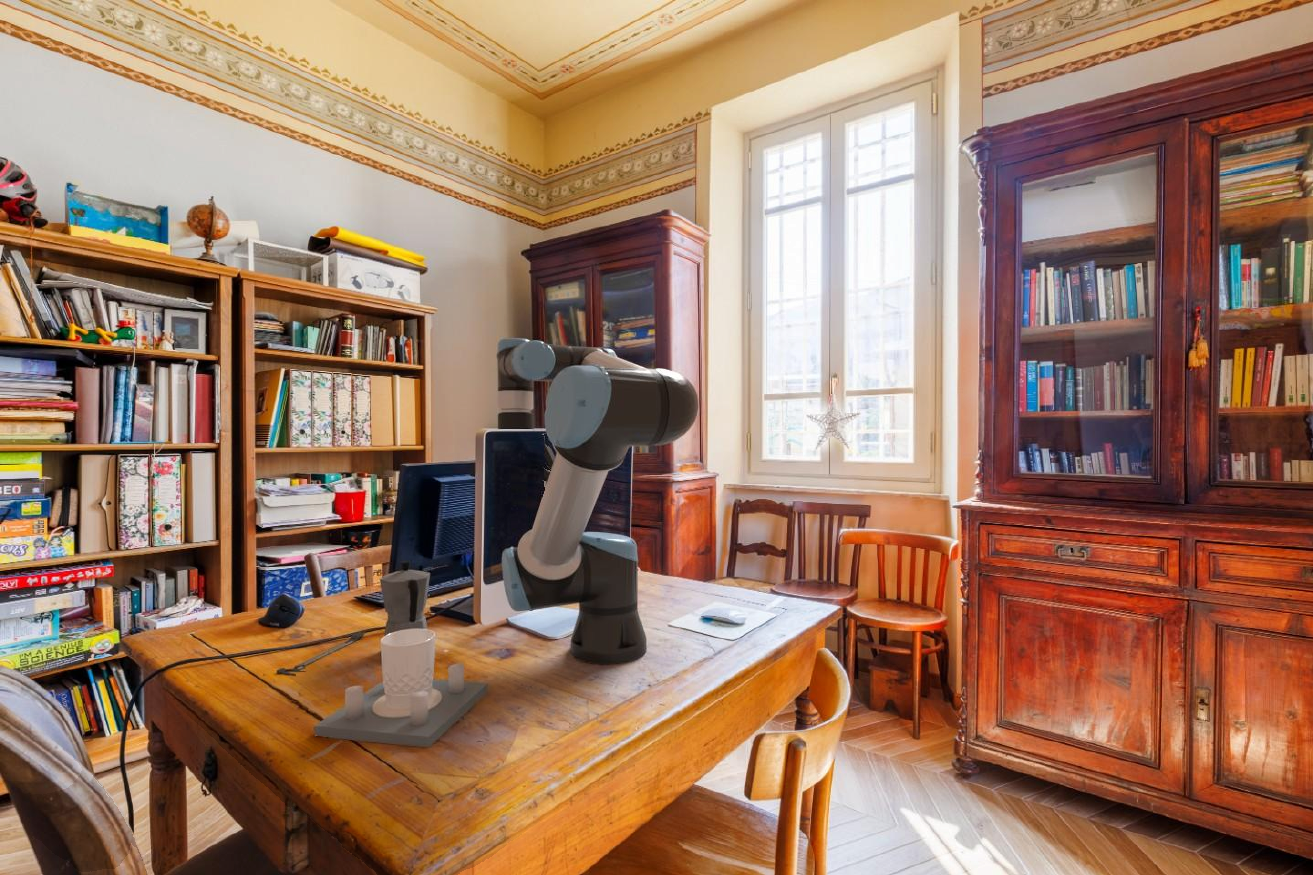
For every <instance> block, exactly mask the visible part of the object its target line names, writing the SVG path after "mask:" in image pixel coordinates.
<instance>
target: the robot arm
mask: <svg viewBox="0 0 1313 875" xmlns="http://www.w3.org/2000/svg"><path fill="white" fill-rule="evenodd" d="M496 351H497V353H496V360H497V362H496V363H497V364H496V365H497V368H496V369H497V410H499V411H500V412H498V413H497V430H498V429H533V430H534V429H535V428H534V426H535V425H534V424H535V423H534V414H533V412H531V411H534V382H552V383H551V384H550V386H549V389H548V391H547V395H546V400H545V406H546V407H545V411H544V414H543V415H544V427H545V433H540V434H541V435H544V434H547V436H548V441H549V442H550V443H551V444H552V447H553V449H554V451H555V452H556V453H555V454H554V451H553V450H552V447H551V446H550V447H551V448H550V447H549V446H547V445H546V444H545V436H542V437H544V450H545V453H544V454H543V456H544V458H545V460H546V462H547V464H548V465H547V466H548V468H549V469H550V470H551V471H550V470H547V469H545V468H544V467H543V468H544V476H543V477H544V479H545V480H546V481H544V480H543V481H544V487H545V491H544V494H543V497H541V500H540V503H539V507H538V510H537V512H536V516H535V520H534V522H533V525H532V529H530V530H528V531H526V532H525V533H524V534H523V535H522V537H521V538H520V540H519V541H518V545H517V547H514V546H510V547H509V548H505V549H504V550H503V551H502V553H501V555H502V556H501V569H502V580H503V587H504V591H505V595H506V600H507V602H508V605H509V606H510V608H511V610H513V611H514V612H527V611H529V612H532V611H537V610H543V609H549V608H555V607H562V606H569V605H574V604H578V615H577V619H576V621H575V622H576V623H575V625H574V628H573V632H572V635H571V636H570V637H571V638H570V642H569V644H570V647H569V648H570V652H569V653H570V654H571V656H572V657H573V658H575V659H577V660H579V661H580V662H584V663H590V664H597V665H612V664H613V665H614V664H621V663H627V662H631V661H634V660H636V659H639V658H641V657H642V656H643V655H644V654H646V652H647V642H648V641H647V636H646V632H645V629H644V627H643V626H644V625H643V624H642V623H643V622H642V621H641V618H640V614H639V608H638V603H639V602H638V601H639V600H638V597H639V596H638V595H639V594H638V590H639V589H638V588H639V587H638V578H639V575H638V572H639V570H638V568H639V565H638V563H639V556H638V555H639V554H638V545H637V543H636V541H635V540H634V539H633V537H632V538H631V537H629V536H627V535H622V534H618V533H610V532H599V531H585V530H586V527H587V525H588V524H589V523H588V522H589V519H590V518H591V515H592V512H593V510H594V507H595V505H596V503H597V501H598V498H599V495H600V493H601V491H602V488H603V485H604V484H605V481H606V479H607V475H608V474H609V471H612V470H614V469H617V468H618V467H619V466H621V464H622V463H623V462H624V460H625V458H626V454H627V453H628V451H629V449H630V448H631V447H647V446H648V447H650V446H653V447H655V446H663V445H668V444H670V443H673V442H675V441H677V440H679V439H680V438H681V437H683V436H684V435H686V434H687V432H688V431H690V429H691V428H692V426H693V425H694V423H695V421H696V419H697V417H698V416H697V415H698V411H699V397H698V393H697V391H696V388H695V387H694V385H693V384H692V383H691V381H690V380H689V379H688V378H687V377H685V376H684V375H682V374H681V373H678V372H676V371H671V370H669V369H666V368H659V367H658V368H646V367H645V366H644V367H643V366H641V365H638V364H635V363H633V362H631V361H628V360H626V359H623V358H620V357H618V356H617V354H616V352H615V351H614V350H613V349H611V348H604V347H600V346H595V347H594V346H591V347H590V346H589V347H588V346H574V345H562V344H561V345H560V344H552V343H551V344H550V343H546V342H544V341H541V340H529V339H527V338H519V337H509V338H508V337H507V338H503V339H499V340H498V343H497V350H496ZM549 473H550V474H549ZM469 476H470V477H473V478H475V462H474V463H473V465H472V468H471V469H470V472H469Z"/></svg>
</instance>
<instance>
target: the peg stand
mask: <svg viewBox="0 0 1313 875" xmlns="http://www.w3.org/2000/svg"><path fill="white" fill-rule="evenodd" d="M488 692H489V682H481V681H480V682H479V681H468V680H467V681H465V664H464V663H453V664H450V665H449V666H448V679H441V678H440V679H438V678H433V681H432V697H431V699H430V700H429V702H428V692H427V691H418V692H414V693H412V694H411V695H410V707H411V709H406V710H393V709H390V708H388V707H386V704H385V691H384V687H383V680H382V681H381V682H379V683H378V684H376V685H374V686H372V688H370V689H368V690H367V691H365V692H364V687H363V686H361V685H353V686H350V687H347V688H345V690H344V706H343V707H341V708H339V709H337V710H336V711H334V712H333V713H331V714H329V716H327V717H325V718H324V719H322V720H321V721H319V722H318V723H317V724H315V725H313V736H314V735H317V736H324V737H323V738H326V737H329V738H328V739H337V740H347V741H358V742H367V743H378V744H389V745H397V746H398V745H399V746H407V747H409V746H410V747H418V748H419V747H420V748H430V747H432V745H434V744H435V742H436V741H438V740H439V739H440V738H442V737H443V735H444V734H446V732H447V731H448V730H450V729H451V728H452V727H453V726H454V725H455V724H456V722H458V721H459V720H460V719H461V718H463V716H465V714H466V713H467V712H469V711H470V709H472V708H473V707H474V706H475V705H476V704H478V702H479V701H481V700H482V699H483V697H484V696H486V695H487V694H488Z"/></svg>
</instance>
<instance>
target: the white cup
mask: <svg viewBox="0 0 1313 875" xmlns="http://www.w3.org/2000/svg"><path fill="white" fill-rule="evenodd" d="M435 651H436V632H435V631H434V630H432V629H428V628H427V629H406V630H401V631H396V632H393V633H390V634H388V635H386V636H384V635H383V637H381V639H380V655H381V672H382V681H383V687H384V691H385V704H386V707H388V708H390V709H393V710H406V709H411V707H410V695H411V694H412V693H414V692H418V691H427V692H428V702H429V700H430V699H431V697H432V681H433V679H434V670H435V669H434V668H435Z"/></svg>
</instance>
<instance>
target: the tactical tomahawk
mask: <svg viewBox="0 0 1313 875" xmlns="http://www.w3.org/2000/svg"><path fill="white" fill-rule="evenodd" d="M365 634H366V633H365V632H363V631H360V632H357V633H354V634H353V635H352V636H350V637H349V639H348V640H345V641H344V642H340V643H338V644H336V645H334V646H332V647H330V648H328V649H326V650H324V651H322V652H319V653H318V654H316V655H314V656H312V657H310V658H308V659H306V660H304V661H302V662H300V663H298V664H296V665H295V666H294V667H293V668H285V667H281V668H278V669H276V674H277V673H278V674H277V675H284V674H285V676H289V675H292V676H291V677H297V676H296V674H297V673H296V672H298V673H306V672H307V670H303V669H306V667H307V666H309V665H312V664H313V663H315V662H317V661H319V660H321V659H324V658H326V657H327V655H328V656H329V654H330V655H331V653H332V652H334V653H335V652H337V651H339V650H341V649H343V648H346V647H347V646H350V645H352V644H354V643H355V642H357V641H358V640H359V639H360V638H363V637H364V636H365ZM332 654H333V653H332ZM325 656H326V657H325ZM323 657H324V658H323ZM294 672H295V673H294Z"/></svg>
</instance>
